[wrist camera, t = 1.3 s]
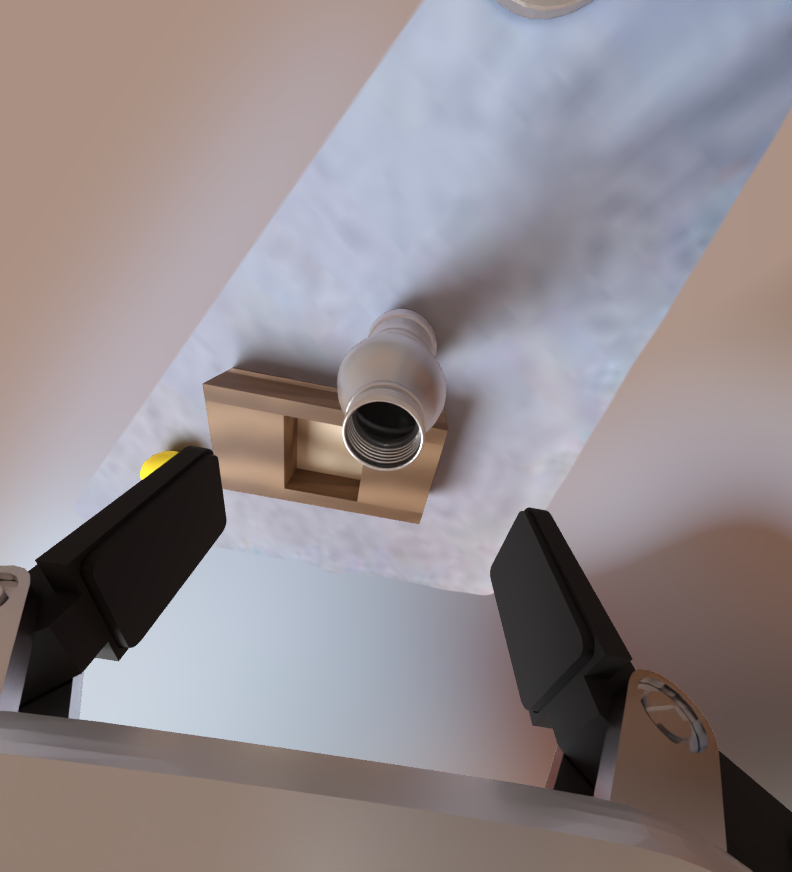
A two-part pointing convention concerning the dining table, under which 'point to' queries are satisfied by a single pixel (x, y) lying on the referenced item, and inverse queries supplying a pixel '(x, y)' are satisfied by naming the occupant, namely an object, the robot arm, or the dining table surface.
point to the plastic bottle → (391, 391)
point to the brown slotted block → (307, 448)
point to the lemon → (155, 462)
